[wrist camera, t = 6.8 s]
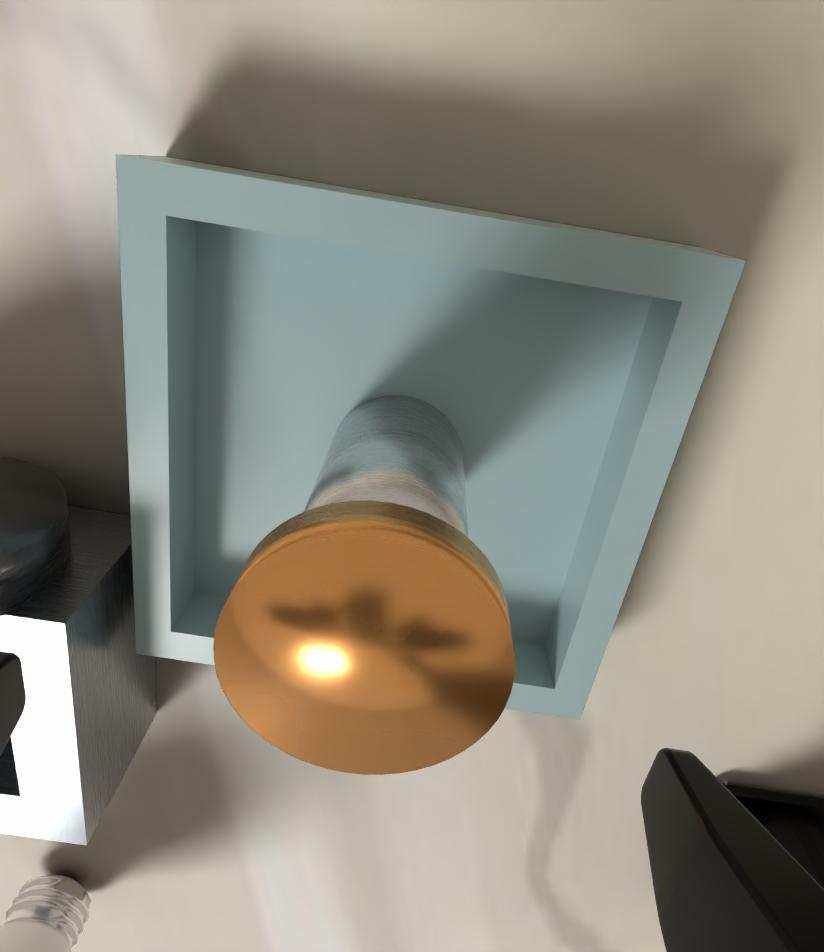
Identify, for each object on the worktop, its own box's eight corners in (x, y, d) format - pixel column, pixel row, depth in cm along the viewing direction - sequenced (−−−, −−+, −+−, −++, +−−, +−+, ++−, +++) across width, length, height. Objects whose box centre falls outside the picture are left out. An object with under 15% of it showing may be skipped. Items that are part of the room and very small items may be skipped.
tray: (702, 247, 16) (746, 261, 13) (565, 661, 21) (580, 719, 19) (164, 156, 15) (115, 154, 13) (169, 601, 21) (136, 653, 19)
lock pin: (502, 389, 17) (548, 568, 9) (466, 545, 19) (481, 792, 11) (317, 358, 17) (216, 515, 9) (302, 519, 19) (209, 752, 11)
